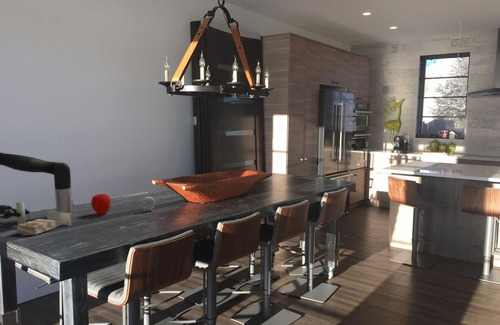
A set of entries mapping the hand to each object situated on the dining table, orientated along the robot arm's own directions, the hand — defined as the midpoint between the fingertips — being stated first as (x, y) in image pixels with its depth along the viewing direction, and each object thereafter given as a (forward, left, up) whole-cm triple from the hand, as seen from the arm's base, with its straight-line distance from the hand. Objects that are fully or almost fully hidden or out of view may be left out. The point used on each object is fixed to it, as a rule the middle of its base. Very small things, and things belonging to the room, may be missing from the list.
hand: (24, 213), depth 227 cm
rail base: (0, +12, -8) cm, 15 cm away
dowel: (0, -3, -8) cm, 8 cm away
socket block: (+4, +12, -8) cm, 15 cm away
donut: (-55, +44, -8) cm, 71 cm away
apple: (-39, +20, -8) cm, 45 cm away
